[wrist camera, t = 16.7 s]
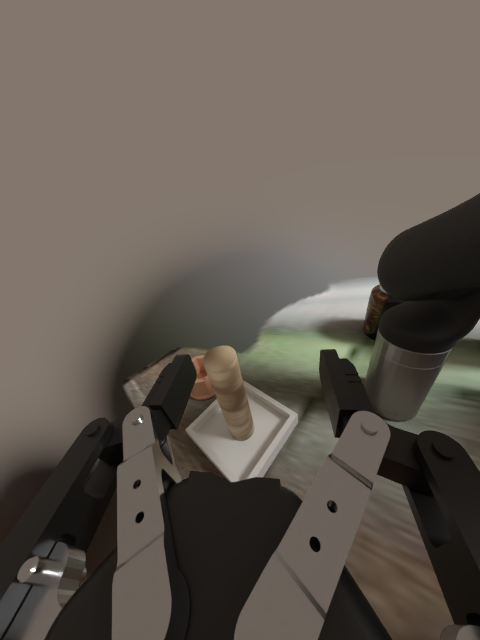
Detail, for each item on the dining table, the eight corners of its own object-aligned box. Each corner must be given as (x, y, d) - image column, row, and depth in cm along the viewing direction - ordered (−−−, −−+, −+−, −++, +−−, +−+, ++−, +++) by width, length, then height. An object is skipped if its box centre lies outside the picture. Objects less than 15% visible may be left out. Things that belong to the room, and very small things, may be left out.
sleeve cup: (208, 364, 58) (202, 349, 55) (232, 379, 52) (227, 363, 49) (180, 387, 53) (172, 372, 50) (203, 407, 47) (195, 392, 43)
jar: (373, 347, 53) (386, 297, 45) (357, 322, 62) (365, 277, 54) (424, 344, 51) (448, 291, 42) (399, 318, 60) (414, 271, 52)
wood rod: (241, 411, 43) (220, 341, 32) (259, 425, 40) (242, 353, 29) (225, 430, 40) (196, 360, 30) (243, 446, 37) (218, 375, 26)
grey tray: (240, 384, 50) (238, 377, 49) (297, 422, 40) (297, 414, 38) (189, 437, 41) (185, 429, 40) (246, 502, 31) (243, 495, 30)
